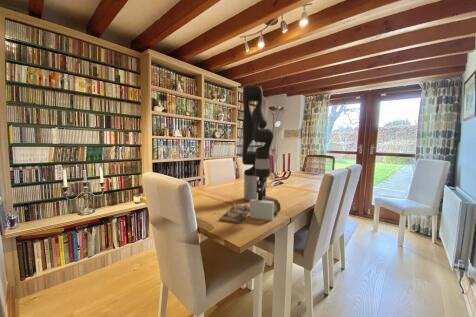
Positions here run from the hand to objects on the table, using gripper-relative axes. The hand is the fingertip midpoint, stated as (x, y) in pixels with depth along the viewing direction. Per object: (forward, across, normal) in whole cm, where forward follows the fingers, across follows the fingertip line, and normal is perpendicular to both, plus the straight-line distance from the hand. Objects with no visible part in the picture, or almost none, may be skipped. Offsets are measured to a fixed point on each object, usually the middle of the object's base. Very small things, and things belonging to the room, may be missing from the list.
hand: (261, 198), depth 107 cm
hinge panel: (+11, 0, -14) cm, 18 cm away
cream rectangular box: (+11, 0, 0) cm, 11 cm away
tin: (+11, -11, +2) cm, 16 cm away
